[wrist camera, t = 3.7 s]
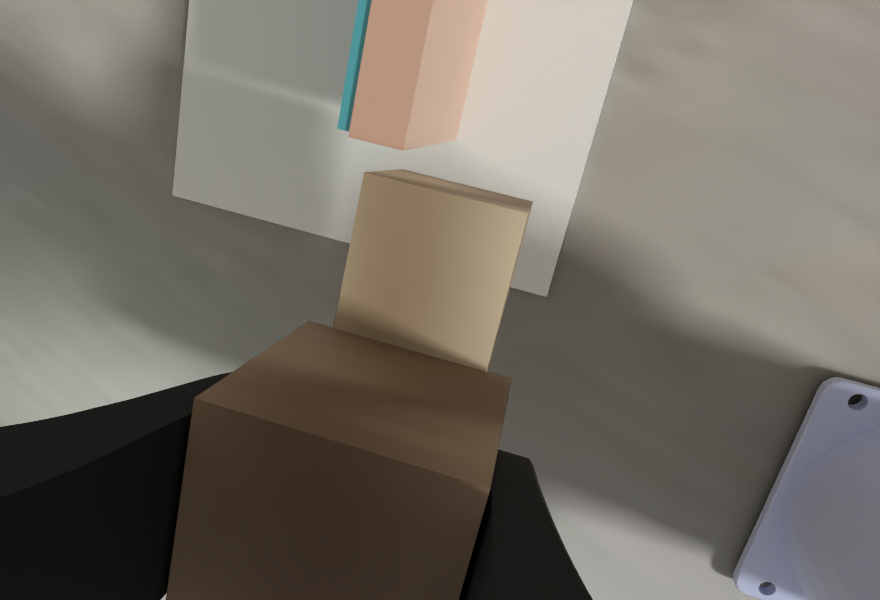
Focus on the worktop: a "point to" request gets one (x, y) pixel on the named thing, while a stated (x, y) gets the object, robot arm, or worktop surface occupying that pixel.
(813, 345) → the worktop surface
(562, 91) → the rubber mat
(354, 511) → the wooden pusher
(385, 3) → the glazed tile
